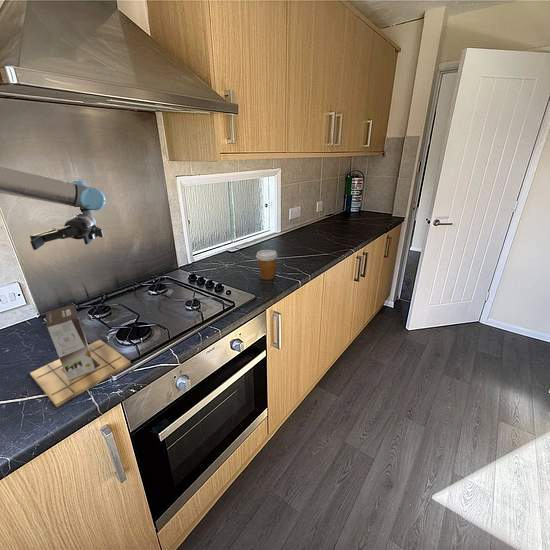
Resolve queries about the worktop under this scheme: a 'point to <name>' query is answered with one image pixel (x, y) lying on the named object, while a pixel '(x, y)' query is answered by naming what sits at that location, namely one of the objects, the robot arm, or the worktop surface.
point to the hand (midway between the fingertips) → (59, 242)
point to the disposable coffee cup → (267, 263)
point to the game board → (64, 389)
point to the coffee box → (70, 341)
